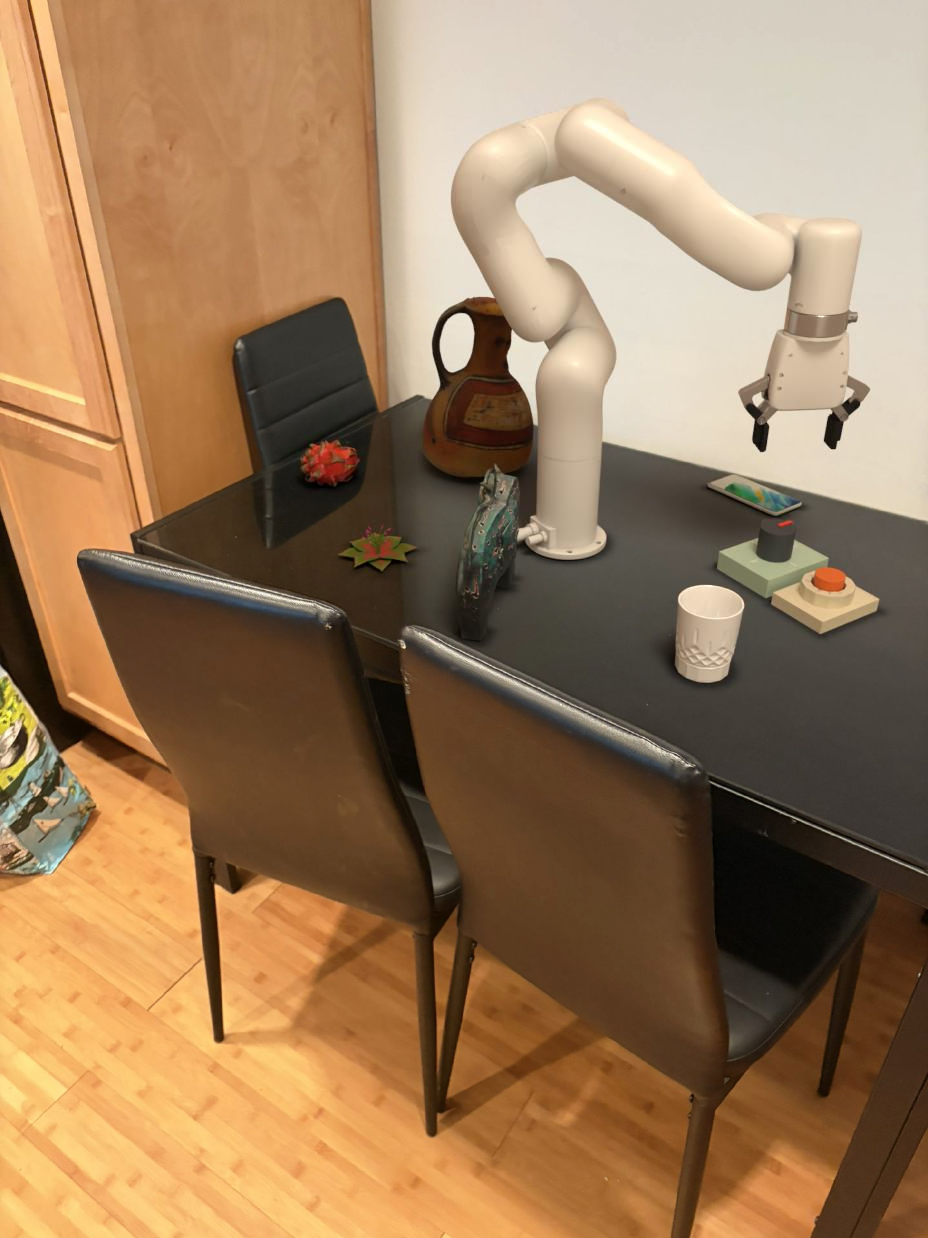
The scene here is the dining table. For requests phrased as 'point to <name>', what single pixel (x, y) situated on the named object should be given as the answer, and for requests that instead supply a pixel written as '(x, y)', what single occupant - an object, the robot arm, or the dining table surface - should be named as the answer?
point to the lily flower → (378, 550)
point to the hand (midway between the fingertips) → (794, 446)
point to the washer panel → (768, 567)
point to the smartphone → (754, 494)
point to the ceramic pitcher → (478, 401)
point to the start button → (829, 579)
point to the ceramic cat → (487, 552)
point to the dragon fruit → (329, 463)
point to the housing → (824, 604)
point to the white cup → (707, 632)
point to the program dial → (776, 540)
